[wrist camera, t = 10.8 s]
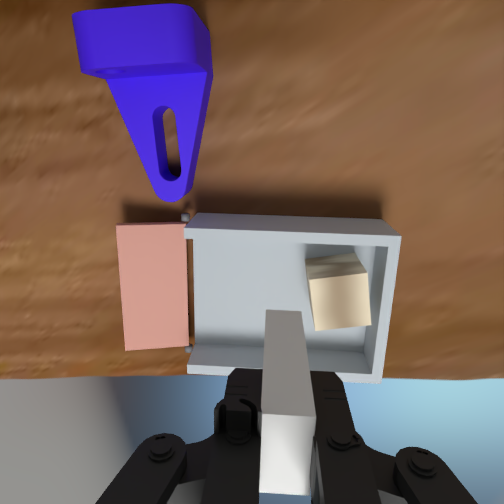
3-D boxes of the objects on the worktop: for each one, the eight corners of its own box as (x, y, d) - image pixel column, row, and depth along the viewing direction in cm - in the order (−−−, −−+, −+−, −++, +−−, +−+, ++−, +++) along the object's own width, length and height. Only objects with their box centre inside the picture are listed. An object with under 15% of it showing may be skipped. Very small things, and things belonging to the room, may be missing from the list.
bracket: (114, 39, 46) (62, 12, 35) (209, 32, 45) (187, 1, 34) (137, 198, 51) (98, 218, 40) (222, 193, 51) (207, 213, 39)
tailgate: (126, 343, 54) (125, 350, 52) (117, 222, 49) (115, 225, 47) (188, 339, 55) (188, 345, 54) (185, 220, 50) (185, 224, 49)
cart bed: (188, 341, 57) (175, 374, 49) (185, 209, 51) (169, 224, 44) (366, 350, 56) (380, 385, 48) (382, 216, 50) (401, 233, 43)
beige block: (309, 304, 51) (315, 331, 44) (304, 258, 49) (309, 279, 43) (358, 298, 50) (371, 324, 44) (354, 252, 49) (367, 272, 42)
